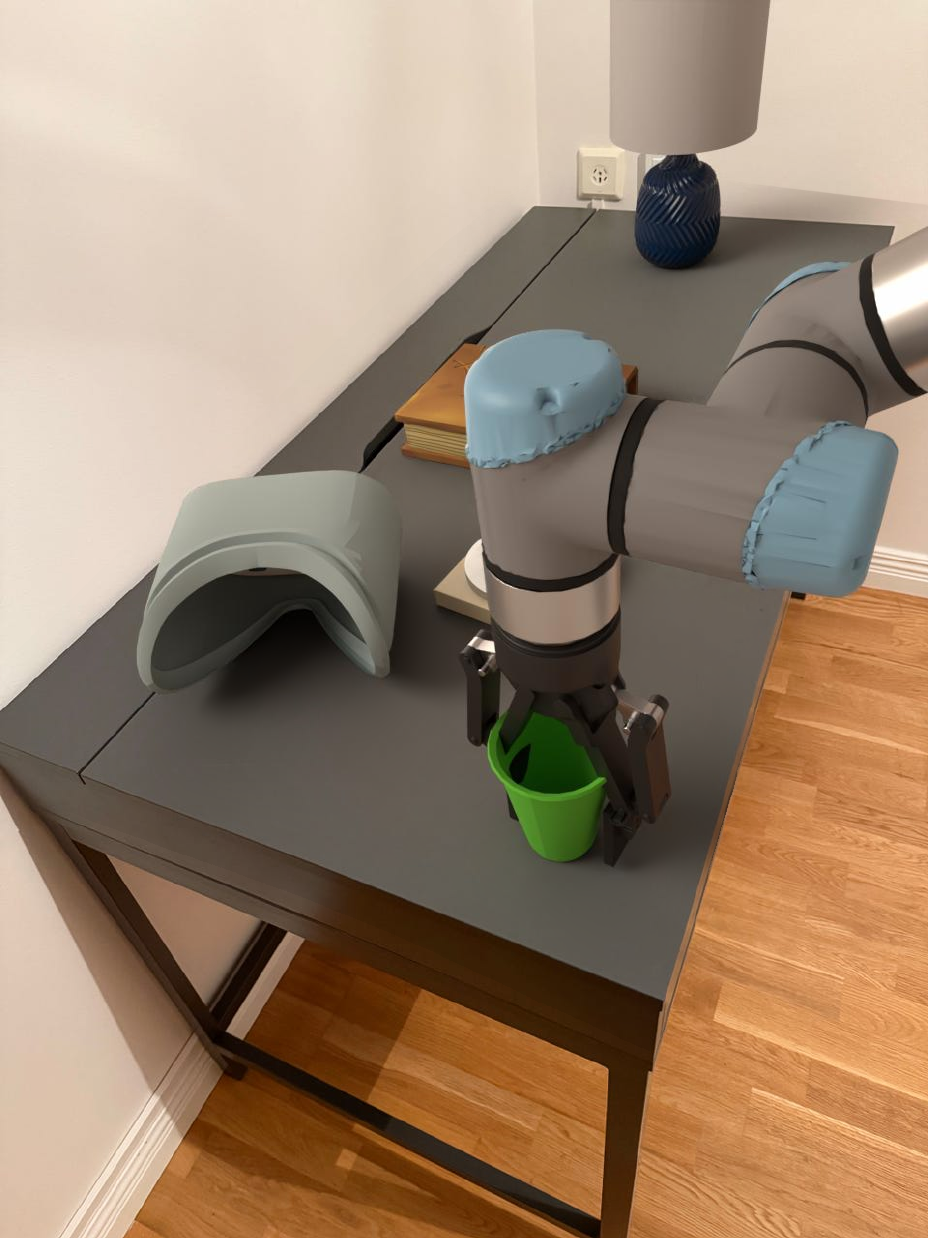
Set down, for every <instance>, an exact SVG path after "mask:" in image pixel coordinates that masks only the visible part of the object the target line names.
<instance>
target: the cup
mask: <svg viewBox="0 0 928 1238" xmlns="http://www.w3.org/2000/svg"><path fill="white" fill-rule="evenodd" d="M507 711H508V709H507V710H505V712H504V713H503V714H501V716H499V719H498V720H497V722H496V724H495V725H494V727H493V729H492V730H491V733H490V737H489V740H488V747H487V759H488V762H489V764H490V768H491V770H492V771H493V772H494V774H495V775H496V777H497V778H498V780H499V779H500V780H499V781H500V782H502V783H503V786H504V788H505V791H506V790H507V793H508V795H509V797H510V800H511V802H512V804H513V807H514V809H515V811H516V814H517V816H518V819H519V821H518V822H519V823H520V825H521V828H522V830H523V832H524V835H525V838H526V839H527V842H528V844H529V845H530V847H531V849H532V850H534V851H535V853H537V854H538V855H539V856H541V857H543V858H545V859H547V860H550V861H553V862H562V863H565V862H569V861H574V860H575V859H578V858H580V857H581V856H583V855H584V854H585V853H587V852H588V851H589V849H590V848H591V847H592V846H593V844H594V842H595V839H596V836H597V833H598V828H599V825H600V821H601V816H602V815H603V811H604V805H605V803H606V799H607V795H606V793H605V790H604V788H603V786H602V785H603V784H605V783H606V782H607V780H606V778H600V777H599V778H598V776H597V774H596V772H595V770H594V768H593V766H592V764H591V762H590V759H589V757H588V755H587V753H586V751H585V749H584V747H583V746H580V745H576V744H575V742H574V740H573V738H572V736H571V734H570V732H569V730H568V727H567V726H566V725H564V724H563V723H561V722H559V721H558V720H556V719H554V718H551V717H546V716H542V715H540V714H538V713H535V712H534V713H533V715H532V716H531V718H530V720H529V722H528V724H527V726H526V728H525V729H524V731H523V732H522V734H521V735H520V736H519V737H518V739H517V740H516V741H515V743H514V744H513V746H512V747H511V748H510V750H509V752H508V753H507V755H505V752H504V749H503V746H502V743H501V740H500V737H499V734H498V732H499V730H500V728H501V726H502V724H503V722H504V720H505V718H506V716H507V714H508V712H507ZM530 743H531V748H530V754H529V761H528V767H527V771H526V774H525V777H524V780H523V782H522V783H520V784H517V783H515V782H514V781H513V780H512V777H511V774H510V770H509V766H510V764H511V762H512V760H513V758H514V757H515V755H516V754H517V753H518V752H519V751H520V750H521V749H522V748H524V747H525V746H527V745H528V744H530ZM507 793H506V794H507Z"/></svg>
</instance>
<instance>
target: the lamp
mask: <svg viewBox="0 0 928 1238" xmlns="http://www.w3.org/2000/svg"><path fill="white" fill-rule="evenodd" d="M770 7H771V0H609V140H610V142H611V143H612V145H614V146H616V147H617V148H620V149H622V150H625V151H629V152H632V153H637V154H642V155H643V154H644V155H655V156H665V157H664V158H663V160H662V161H661V162H658V163H656V164H655V165H654V166H652V167H650V169H649V170H648V171H646V173H645V174H644V176H643V179H642V181H641V184H640V187H639V189H638V195H637V199H636V207H635V215H634V238H635V246H636V248H637V251H638V252H639V255H640V256H641V257H642V258H643V259H644V260H645V261H647V263H650V264H651V265H653V266H655V267H658V268H663V269H666V268H667V269H683V268H688V267H691V266H694V265H696V264H698V263H700V262H702V261H703V260H704V259H705V258H707V257H708V256H709V255H710V254H711V253H712V251H713V250H714V248H715V246H716V245H717V242H718V238H719V234H720V229H721V215H722V211H721V206H722V201H721V199H722V197H721V188H720V183H719V179H718V176H717V175H718V174H717V173H716V170H714V168H713V167H712V166H711V165H710V164H708V163H707V162H705V161H703V160H699V157H698V155H697V154H702V153H709V152H714V151H718V150H722V149H726V148H730V147H732V146H735V145H738V144H740V143H744V141H747V140H748V139H750V138H751V137H752V136H753V135H754V134H755V133H756V132H757V129H758V120H759V112H760V101H761V93H762V84H763V76H764V75H763V74H764V65H765V54H766V46H767V36H768V28H769V27H768V26H769V18H770V17H769V16H770Z"/></svg>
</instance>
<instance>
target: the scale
mask: <svg viewBox="0 0 928 1238" xmlns="http://www.w3.org/2000/svg"><path fill="white" fill-rule="evenodd" d="M465 558H466V555H465V556H464V557H463V558H462V559H461V560H460V561H459V562H458V563H457V565H455V567H453V568H452V570H451V571H450V572H449V573H448V574H447V575H446V576H444V578H443V579H442V580H441V581H440V582H439V583H438V584H437V585H436V587H435V588H434V589H433V593H434V599H435V605H437V606H440V607H441V608H442V607H443V608H445V609H447V610H449V611H453V612H455V613H458V614H461V615H463V616H466V617H469V618H472V619H474V620H477V621H480V622H483V623H485V624H488V625H490V626H491V618H490V617H491V613H490V610H489V607H488V601H487V600H486V599H484V598H482V597H481V596H479V595H478V594H477V593H475V592H474V591H473V590H472V589H471V587H470V586H469V584H468V582H467V580H466V576H465V569H464V562H465Z"/></svg>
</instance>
